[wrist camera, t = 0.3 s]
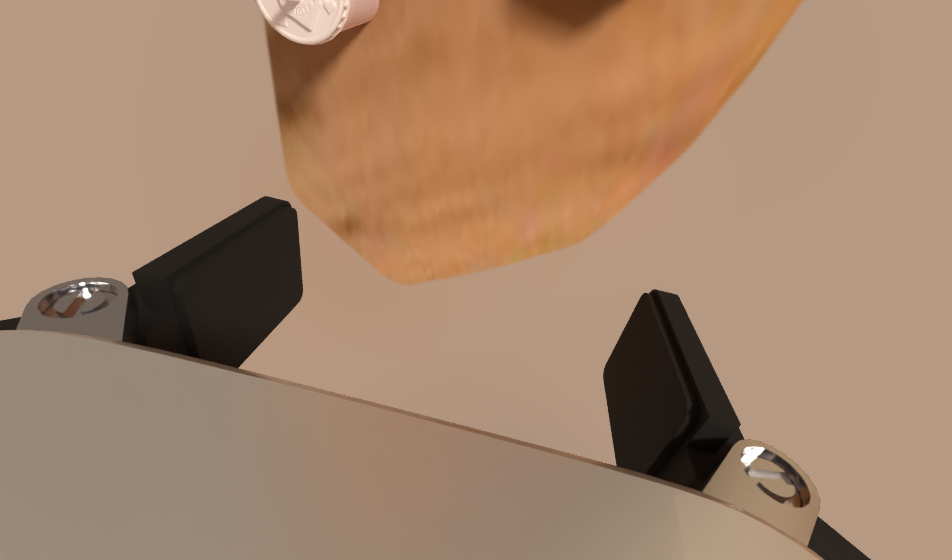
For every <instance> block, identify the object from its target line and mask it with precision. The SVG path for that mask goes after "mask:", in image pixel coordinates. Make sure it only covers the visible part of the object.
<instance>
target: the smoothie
mask: <svg viewBox="0 0 952 560" xmlns="http://www.w3.org/2000/svg"><path fill="white" fill-rule="evenodd" d="M255 1H256V3H257V5H258V7H259V9H260V11H261V13H262V14H263V16H264V17H265V19H266V20H267V21H268V23H269V24H270V25H271V26H272V27H273V28H274V29H275V30H276V31H277V32H278V33H280V34H281V35H282V36H284V37H285V38H287V39H289V40H291V41H294V42H296V43H300V44H309V45H316V44H323V43H326V42H328V41H330V40H332V39H333V38H334V37H335V36H336V35H337V34H338V33H339V32H341V31H344V30H347V29H350V28H353V27H355V26H358V25H361V24H364V23H366V22H369V21H370V20H372V19H373V18H374V17H375V15H376V13H377V11H378V8H379V0H255Z"/></svg>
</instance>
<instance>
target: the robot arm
mask: <svg viewBox="0 0 952 560" xmlns="http://www.w3.org/2000/svg"><path fill="white" fill-rule="evenodd" d="M132 274H133V277H134V280H135V282H136V284H134V285H133V286H131V287H130V288H127V286H126V285H125V284H123V283H122V282H121V281H118V280H115V279H111V278H100V277H98V278H84V279H78V280H72V281H68V282H65V283H61V284H58V285H55V286H53V287H50V288H48V289H46V290H44V291H42V292H40V293H39V294H37V295H36V296H35V297H33V298H32V299H31V300H30V301H29V303H28V304H27V305H26V307H25V309H24V311H23V314H22V317H19V318H13V319H7V320H2V321H0V560H870V559H869V558H868V557H867V556H866V555H864V554H863V553H862V552H861V551H860V550H858V549H857V548H856V547H855V546H853V545H852V544H851V543H850V542H849V541H847V540H846V539H845V538H844V537H842V536H841V535H840V534H839V533H838V532H836V531H835V530H834V529H833V528H831V527H830V526H829V525H828V524H827V523H825V522H824V521H823V520H822V519H820V518H819V517H818V514H819V511H820V497H819V495H818V492H817V489H816V487H815V486H814V484H813V483H812V481H811V479H810V478H809V476H808V475H807V474H806V473H805V472H804V471H803V470H802V469H801V468H800V467H799V465H798V464H796V463H795V462H794V461H793V460H791V459H790V458H789V457H788V456H787V455H785V454H784V453H782V452H781V451H779V450H777V449H776V448H774V447H773V446H770V445H767V444H765V443H763V442H761V441H756V440H751V439H747V440H744V438H743V435H742V434H741V431H740V429H739V426H740V425H741V424H740V422H739V420H738V418H737V416H736V414H735V412H734V410H733V408H732V405H731V404H730V401H729V399H728V397H727V395H726V393H725V391H724V389H723V387H722V385H721V383H720V381H719V379H718V377H717V374H716V372H715V370H714V368H713V366H712V364H711V362H710V360H709V358H708V356H707V354H706V352H705V350H704V348H703V345H702V343H701V341H700V339H699V337H698V335H697V333H696V331H695V329H694V327H693V325H692V323H691V321H690V319H689V317H688V315H687V312H686V310H685V308H684V306H683V304H682V302H681V300H680V298H679V296H678V295H676V294H672V293H668V292H664V291H659V290H655V289H654V290H652V291H651V292H650V293H649V294H648V293H644V294H643V295H642V296H641V297H640V299H639V301H638V303H637V305H636V307H635V309H634V311H633V313H632V315H631V317H630V319H629V321H628V323H627V325H626V327H625V328H624V330H623V332H622V334H621V336H620V338H619V340H618V342H617V344H616V346H615V348H614V350H613V352H612V354H611V356H610V357H609V359H608V361H607V363H606V366H605V368H604V374H603V379H604V386H605V393H606V399H607V405H608V412H609V419H610V425H611V432H612V438H613V445H614V451H615V458H616V464H617V466H614V465H610V464H607V463H603V462H599V461H596V460H592V459H588V458H585V457H581V456H577V455H574V454H570V453H566V452H562V451H558V450H555V449H551V448H547V447H543V446H539V445H536V444H532V443H528V442H524V441H520V440H517V439H512V438H509V437H505V436H501V435H497V434H494V433H490V432H486V431H482V430H478V429H475V428H471V427H467V426H463V425H459V424H455V423H451V422H447V421H444V420H440V419H436V418H432V417H428V416H424V415H420V414H416V413H413V412H409V411H405V410H401V409H397V408H393V407H389V406H385V405H381V404H377V403H374V402H370V401H366V400H362V399H358V398H354V397H349V396H346V395H342V394H338V393H334V392H330V391H326V390H323V389H318V388H315V387H311V386H307V385H303V384H298V383H295V382H291V381H287V380H283V379H279V378H275V377H270V376H266V375H263V374H259V373H255V372H251V371H246V370H243V369H239V367H240V365H241V364H242V363H243V362H244V361H245V360H246V359H247V358H248V357H249V356H250V355H251V353H252V352H253V351H254V350H255V349H256V348H257V347H258V346H259V345H260V344H261V343H262V342H263V341H264V339H265V338H266V337H267V336H268V335H269V334H270V333H271V332H272V331H273V330H274V329H275V328H276V327H277V325H278V324H279V323H280V322H281V321H282V320H283V319H284V318H285V317H286V316H287V315H288V314H289V313H290V311H291V310H292V309H293V308H294V307H295V306H296V305H297V304H298V303H299V301H300V300H301V297H302V294H303V284H302V271H301V258H300V245H299V233H298V220H297V212H296V210H295V209H294V208H292V206H291V205H290V203H289V202H288V201H284V200H280V199H276V198H272V197H267V196H265V197H262V198H260V199H259V200H257V201H255V202H254V203H252V204H250V205H248V206H246V207H245V208H243V209H241V210H240V211H238V212H237V213H234V214H233V215H231V216H229V217H227V218H226V219H224V220H222V221H221V222H219V223H217V224H215V225H214V226H212V227H210V228H209V229H207V230H205V231H203V232H202V233H200V234H198V235H196V236H195V237H193V238H191V239H189V240H188V241H186V242H184V243H182V244H181V245H179V246H177V247H175V248H174V249H172V250H170V251H169V252H167V253H165V254H163V255H162V256H160V257H158V258H156V259H155V260H153V261H151V262H149V263H148V264H146V265H144V266H143V267H141V268H139V269H137V270H136V271H134V272H133V273H132Z"/></svg>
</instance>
